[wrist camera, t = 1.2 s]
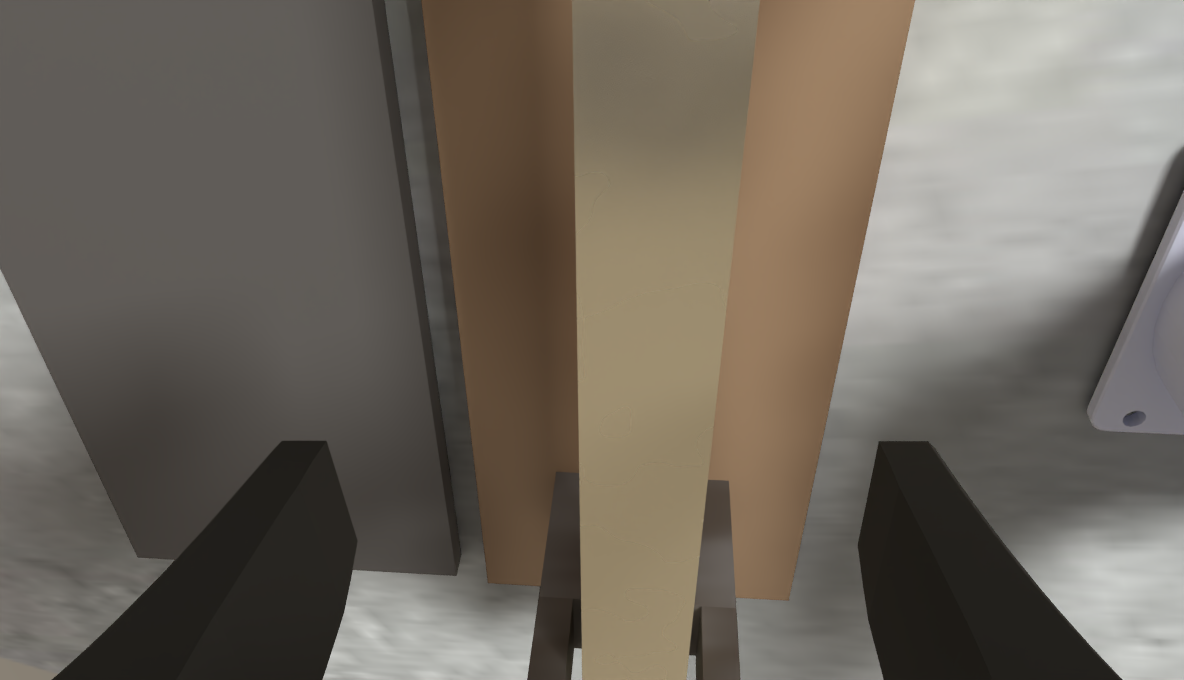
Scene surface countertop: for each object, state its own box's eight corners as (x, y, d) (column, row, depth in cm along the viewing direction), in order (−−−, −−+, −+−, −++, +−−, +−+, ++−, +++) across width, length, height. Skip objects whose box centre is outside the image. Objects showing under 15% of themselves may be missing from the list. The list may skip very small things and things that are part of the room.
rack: (1081, -900, 11) (1488, -1395, 6) (785, 573, 29) (811, 812, 23) (341, -878, 12) (31, -1308, 6) (493, 556, 29) (448, 786, 24)
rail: (826, -849, 8) (864, -961, 7) (676, 688, 24) (676, 772, 22) (582, -841, 9) (557, -950, 7) (590, 682, 24) (584, 766, 22)
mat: (262, -876, 12) (239, -901, 11) (461, 555, 29) (456, 576, 29) (-481, -851, 12) (-544, -875, 12) (149, 537, 30) (137, 557, 29)
